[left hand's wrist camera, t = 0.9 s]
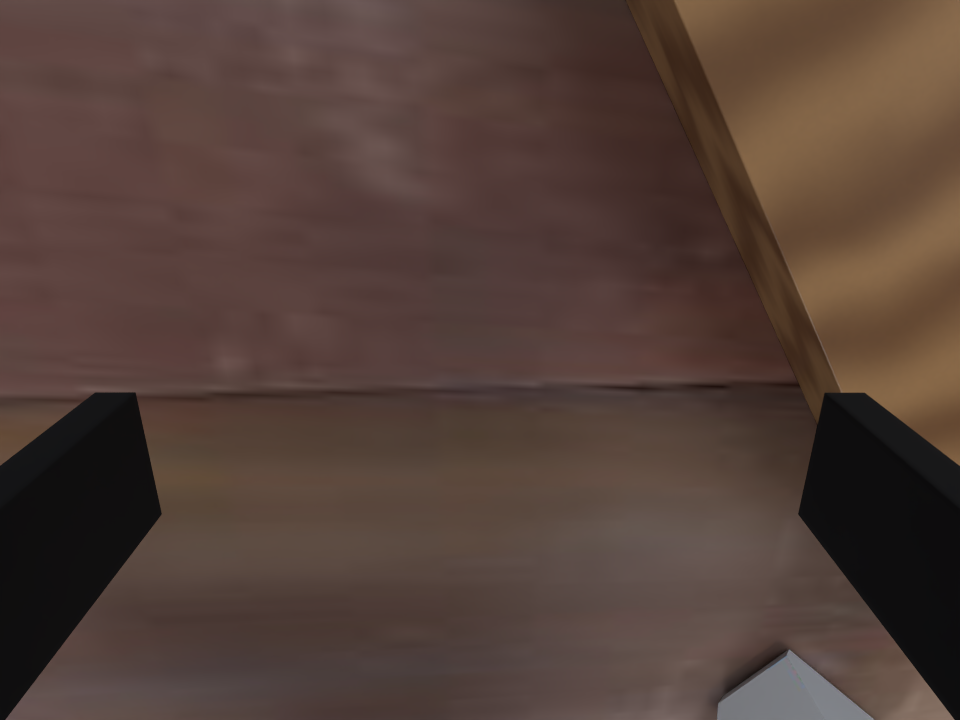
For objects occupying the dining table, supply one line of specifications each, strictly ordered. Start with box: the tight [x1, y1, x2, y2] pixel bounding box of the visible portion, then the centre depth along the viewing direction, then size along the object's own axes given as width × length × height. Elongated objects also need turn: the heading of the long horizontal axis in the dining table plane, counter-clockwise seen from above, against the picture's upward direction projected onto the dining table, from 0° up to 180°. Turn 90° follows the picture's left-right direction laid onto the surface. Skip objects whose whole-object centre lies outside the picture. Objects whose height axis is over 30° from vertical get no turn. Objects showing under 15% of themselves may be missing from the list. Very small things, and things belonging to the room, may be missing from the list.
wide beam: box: [626, 0, 960, 466], centre depth 28 cm, size 51×10×7 cm, turn 31°
